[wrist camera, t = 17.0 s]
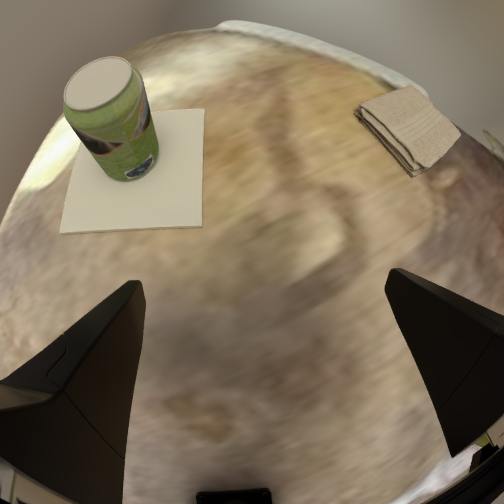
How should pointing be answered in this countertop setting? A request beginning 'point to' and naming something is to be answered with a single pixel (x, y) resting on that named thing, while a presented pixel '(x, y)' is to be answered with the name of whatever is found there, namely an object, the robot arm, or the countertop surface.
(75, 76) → the beverage can
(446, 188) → the countertop surface
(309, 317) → the countertop surface
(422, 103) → the washcloth
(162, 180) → the cream mat
